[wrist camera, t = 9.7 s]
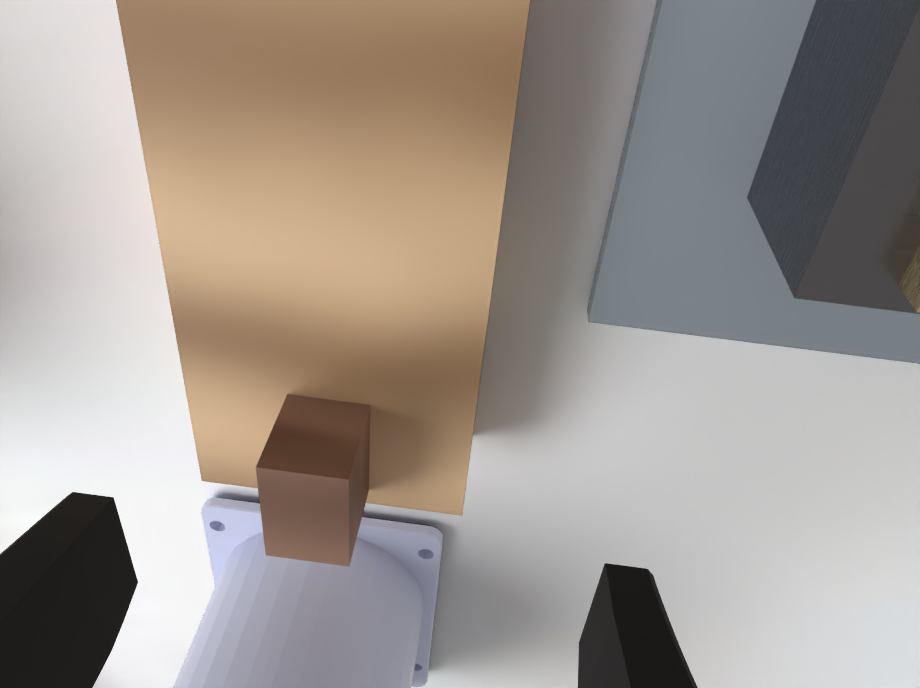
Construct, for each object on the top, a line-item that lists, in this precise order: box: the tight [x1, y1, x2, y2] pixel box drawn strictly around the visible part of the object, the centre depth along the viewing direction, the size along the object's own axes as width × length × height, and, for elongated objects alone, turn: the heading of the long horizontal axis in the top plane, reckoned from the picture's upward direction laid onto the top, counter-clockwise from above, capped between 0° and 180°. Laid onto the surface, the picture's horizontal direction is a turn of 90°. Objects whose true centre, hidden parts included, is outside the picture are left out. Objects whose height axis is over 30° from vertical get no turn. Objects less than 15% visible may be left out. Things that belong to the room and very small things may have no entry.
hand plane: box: [116, 0, 530, 567], centre depth 14 cm, size 22×7×5 cm, turn 175°
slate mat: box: [587, 0, 920, 364], centre depth 15 cm, size 12×10×1 cm
